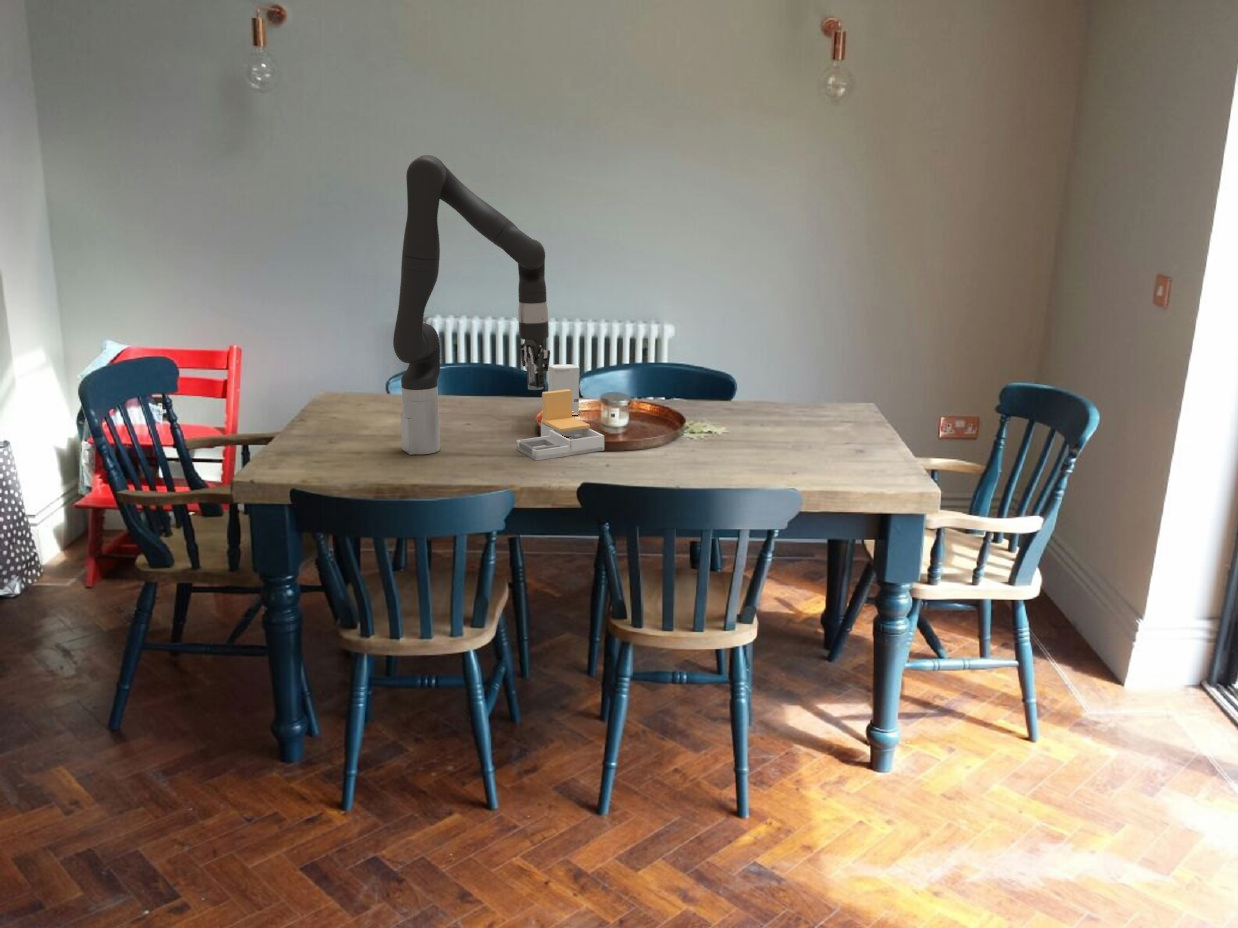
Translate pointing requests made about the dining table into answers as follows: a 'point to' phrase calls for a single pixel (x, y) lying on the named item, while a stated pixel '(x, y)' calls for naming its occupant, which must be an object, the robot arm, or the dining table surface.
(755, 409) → the dining table surface
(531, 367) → the pin
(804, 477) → the dining table surface
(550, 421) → the orange l-shaped block
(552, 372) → the skincare box
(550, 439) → the box
